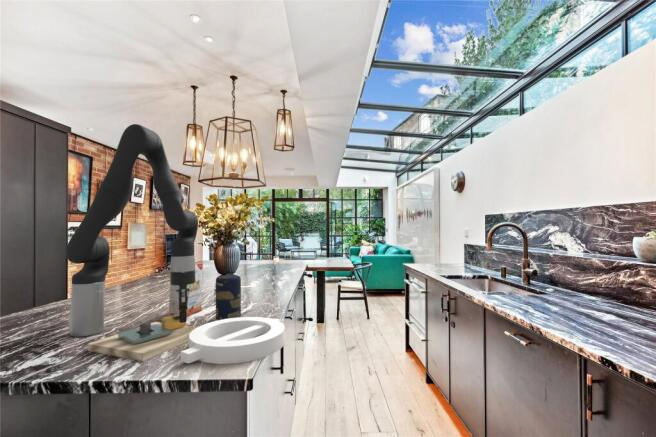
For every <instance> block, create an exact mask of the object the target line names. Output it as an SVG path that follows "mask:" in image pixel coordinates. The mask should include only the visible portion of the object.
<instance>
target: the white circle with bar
mask: <svg viewBox="0 0 656 437" xmlns="http://www.w3.org/2000/svg"><path fill="white" fill-rule="evenodd" d="M282 321H283V320H282V319H279V318H269V317H264V316H263V317H260V316H243V317H242V316H240V317H238V318H229V319H223V320H215V321H211V322H206V323H205V324H201V325H200V326H196V327H197V328H196V329H194V330H193V331H192V332H191V333H190V334H189V341H188V348H187V349H184V350H182V351H180V361H181V362H184V363H186V364H190V363H194V362H196V361H199V362H204V363H207V364H216V365H217V364H224V365H227V364H240V363H246V362H251V361H257V360H260V359H263V358H266V357H268V356H271V355H273V354H274V353H277V352H278V351H279V350H281V349H282V348H283V347H284V345H285V343H286V341H285V340H286V339H285V338H286V336H285V332H286V329H285V328H286V327H285V324H284V323H283V322H282Z"/></svg>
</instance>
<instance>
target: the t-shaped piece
mask: <svg viewBox="0 0 656 437" xmlns="http://www.w3.org/2000/svg"><path fill="white" fill-rule="evenodd" d="M184 326H187V321H186V322H184V323H180V322H179V314H176V315H172V316H169V315H168V316H163V317H161V326H159V325H156V324H154V325H151V332H149V333H145V334H140V328H138V327H136V328H137V329H135V328H133V329H129V330H125V331H121V332H117V334H118V337H119V338H121V339H123V340H125V341H127V342H129V343H131V344H137V343H141V342H144V341H148V340H152V339H155V338H159V337H163V336H166V335H170V334H172V330H173V329H176V328H180V327H184Z"/></svg>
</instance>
